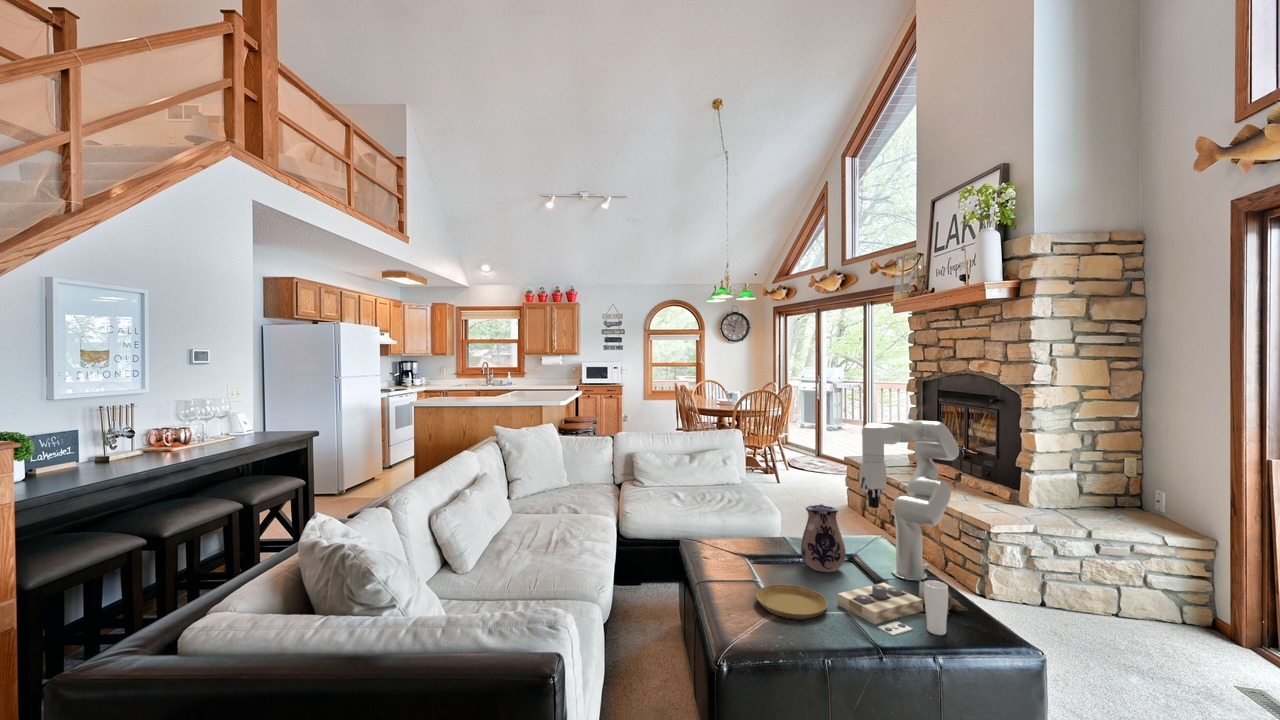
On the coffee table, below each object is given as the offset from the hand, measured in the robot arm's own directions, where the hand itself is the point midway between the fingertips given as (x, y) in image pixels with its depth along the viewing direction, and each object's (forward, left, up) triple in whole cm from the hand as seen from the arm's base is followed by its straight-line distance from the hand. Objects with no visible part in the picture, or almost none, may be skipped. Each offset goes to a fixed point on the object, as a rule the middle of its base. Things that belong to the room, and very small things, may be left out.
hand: (873, 507), depth 203 cm
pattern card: (+19, +25, -31) cm, 44 cm away
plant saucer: (+38, -2, -32) cm, 49 cm away
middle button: (+11, +12, -29) cm, 33 cm away
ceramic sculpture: (-7, +21, -32) cm, 39 cm away
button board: (+11, +12, -31) cm, 35 cm away
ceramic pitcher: (+1, -26, -31) cm, 41 cm away
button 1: (+19, +12, -31) cm, 38 cm away
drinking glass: (+9, +32, -31) cm, 46 cm away
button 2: (+3, +12, -31) cm, 33 cm away
